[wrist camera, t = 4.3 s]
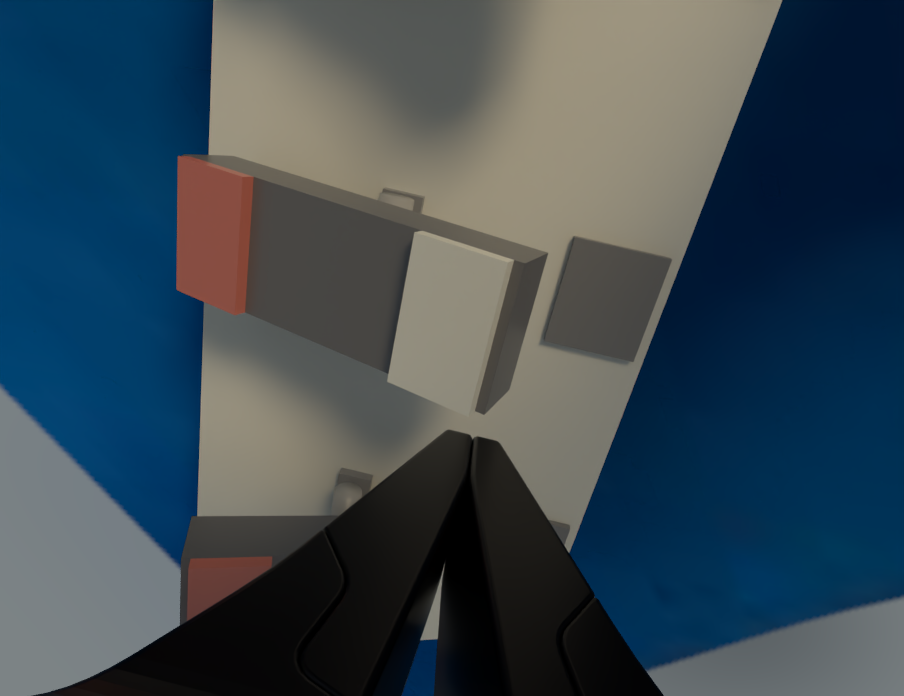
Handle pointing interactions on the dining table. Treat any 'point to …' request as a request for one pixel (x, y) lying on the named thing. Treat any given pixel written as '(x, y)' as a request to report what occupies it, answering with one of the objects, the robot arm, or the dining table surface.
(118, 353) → the dining table surface
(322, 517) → the rocker
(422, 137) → the panel
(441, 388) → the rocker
